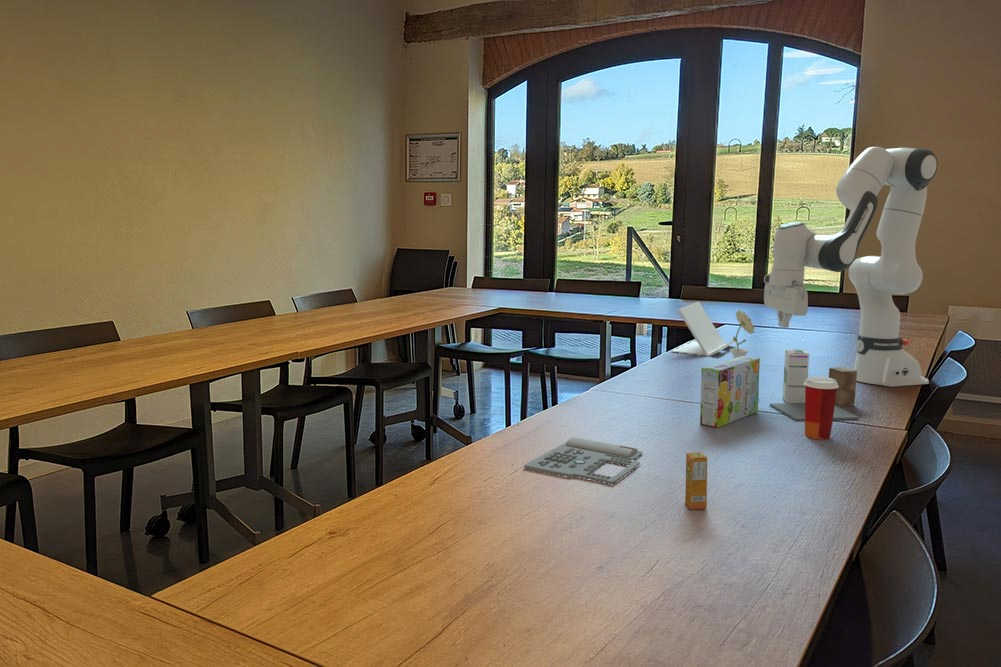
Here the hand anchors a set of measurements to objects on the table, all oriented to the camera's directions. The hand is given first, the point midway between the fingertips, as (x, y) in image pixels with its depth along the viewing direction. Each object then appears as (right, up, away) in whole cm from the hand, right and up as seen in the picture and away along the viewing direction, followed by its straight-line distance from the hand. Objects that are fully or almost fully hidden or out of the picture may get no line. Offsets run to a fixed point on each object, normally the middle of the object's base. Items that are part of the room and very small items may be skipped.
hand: (783, 327), depth 219 cm
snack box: (-22, -24, -22) cm, 40 cm away
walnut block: (+13, -22, -8) cm, 27 cm away
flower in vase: (-14, -20, 0) cm, 24 cm away
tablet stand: (-4, -8, +71) cm, 72 cm away
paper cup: (-6, -27, -38) cm, 47 cm away
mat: (+2, -23, -17) cm, 28 cm away
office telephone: (-63, -30, -56) cm, 89 cm away
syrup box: (+1, -21, -5) cm, 22 cm away
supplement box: (-46, -34, -80) cm, 98 cm away
